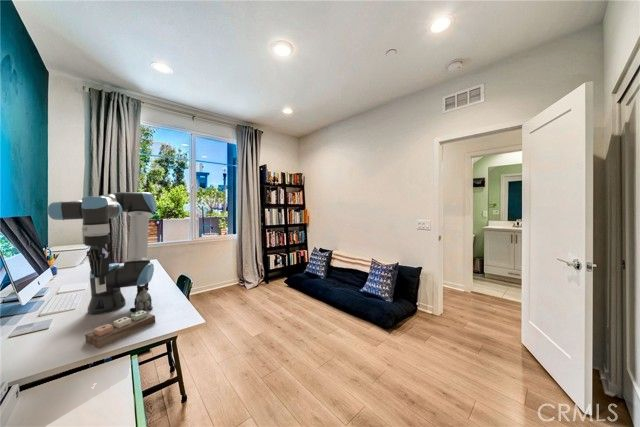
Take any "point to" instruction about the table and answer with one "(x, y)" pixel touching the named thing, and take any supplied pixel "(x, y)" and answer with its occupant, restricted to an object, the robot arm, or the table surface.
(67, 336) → the table surface
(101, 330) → the pink toy block
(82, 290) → the table surface
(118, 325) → the tile two
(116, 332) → the board
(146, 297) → the figurine
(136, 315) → the tile three
